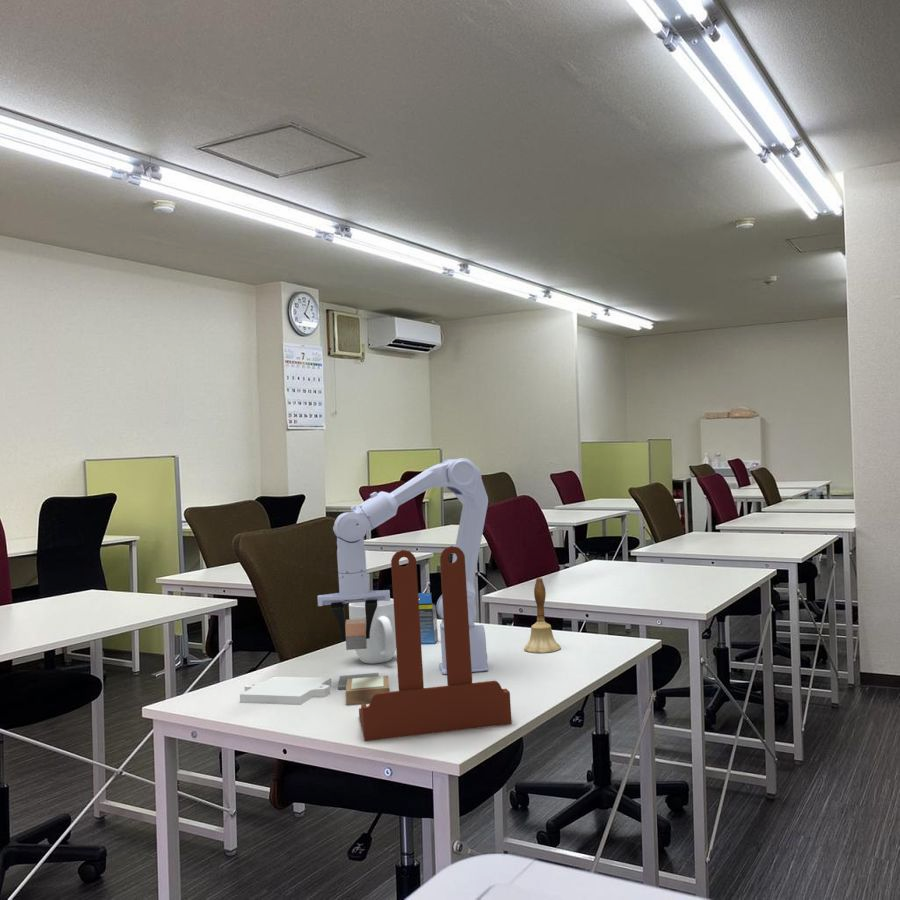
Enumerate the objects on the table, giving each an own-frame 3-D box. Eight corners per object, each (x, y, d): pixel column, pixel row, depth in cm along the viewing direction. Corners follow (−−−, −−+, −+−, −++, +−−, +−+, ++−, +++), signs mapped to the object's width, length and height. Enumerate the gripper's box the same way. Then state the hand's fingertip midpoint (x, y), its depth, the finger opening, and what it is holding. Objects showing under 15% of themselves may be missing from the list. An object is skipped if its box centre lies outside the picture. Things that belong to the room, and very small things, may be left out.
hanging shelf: (494, 703, 152) (484, 536, 153) (511, 725, 139) (500, 543, 140) (359, 718, 148) (349, 546, 148) (364, 742, 135) (353, 554, 135)
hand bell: (537, 643, 197) (533, 575, 197) (568, 647, 192) (563, 576, 192) (516, 651, 191) (512, 580, 191) (547, 655, 185) (542, 582, 186)
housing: (366, 642, 175) (365, 617, 175) (366, 648, 169) (365, 623, 169) (347, 643, 174) (346, 619, 174) (346, 649, 168) (345, 624, 169)
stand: (389, 688, 166) (388, 674, 166) (389, 701, 157) (389, 686, 157) (347, 691, 165) (347, 677, 165) (346, 705, 156) (345, 690, 156)
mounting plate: (343, 687, 170) (342, 678, 170) (312, 707, 157) (312, 696, 157) (263, 685, 175) (263, 676, 175) (228, 703, 163) (228, 693, 163)
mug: (415, 664, 184) (412, 604, 184) (368, 672, 179) (364, 611, 179) (389, 652, 197) (386, 596, 197) (345, 659, 192) (341, 602, 192)
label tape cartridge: (438, 640, 207) (435, 590, 207) (434, 644, 203) (431, 592, 203) (403, 641, 209) (400, 590, 209) (399, 644, 205) (396, 593, 205)
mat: (378, 675, 176) (378, 672, 176) (378, 686, 167) (378, 684, 167) (339, 678, 176) (339, 675, 176) (338, 689, 167) (337, 687, 167)
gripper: (387, 566, 176) (391, 631, 176) (317, 571, 175) (321, 637, 175) (388, 570, 169) (392, 638, 169) (315, 576, 168) (319, 644, 168)
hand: (356, 638), depth 172 cm, fingers closed on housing, 4 cm apart
